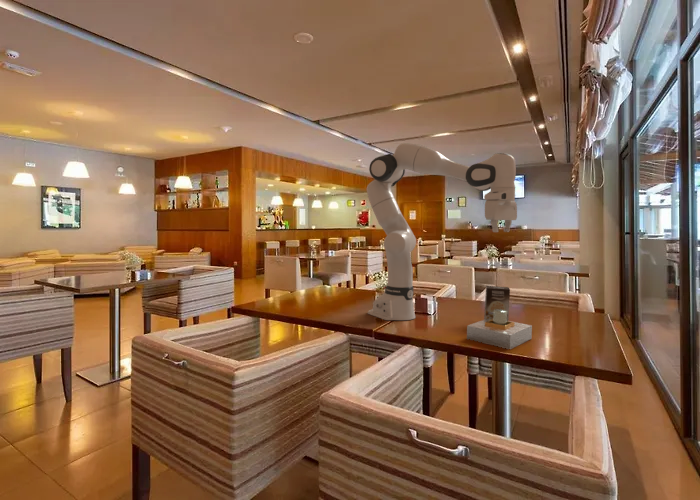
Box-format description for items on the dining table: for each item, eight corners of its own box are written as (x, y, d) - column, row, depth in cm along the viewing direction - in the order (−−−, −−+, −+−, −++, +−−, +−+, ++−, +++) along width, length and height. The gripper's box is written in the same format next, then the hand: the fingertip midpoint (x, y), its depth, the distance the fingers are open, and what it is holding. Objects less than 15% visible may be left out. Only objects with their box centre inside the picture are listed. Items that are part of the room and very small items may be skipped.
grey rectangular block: (466, 338, 141) (467, 322, 140) (490, 329, 153) (490, 314, 153) (509, 349, 129) (510, 331, 129) (531, 338, 141) (532, 322, 141)
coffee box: (484, 326, 158) (486, 287, 157) (483, 322, 164) (485, 285, 163) (508, 328, 155) (510, 289, 154) (506, 324, 161) (508, 286, 160)
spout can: (485, 333, 143) (485, 309, 142) (491, 331, 146) (491, 307, 145) (502, 337, 138) (503, 312, 137) (508, 335, 141) (509, 310, 140)
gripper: (506, 197, 157) (505, 231, 158) (482, 195, 143) (480, 232, 144) (522, 197, 153) (520, 231, 154) (498, 194, 139) (496, 232, 140)
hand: (501, 232), depth 149 cm, fingers open, 8 cm apart
